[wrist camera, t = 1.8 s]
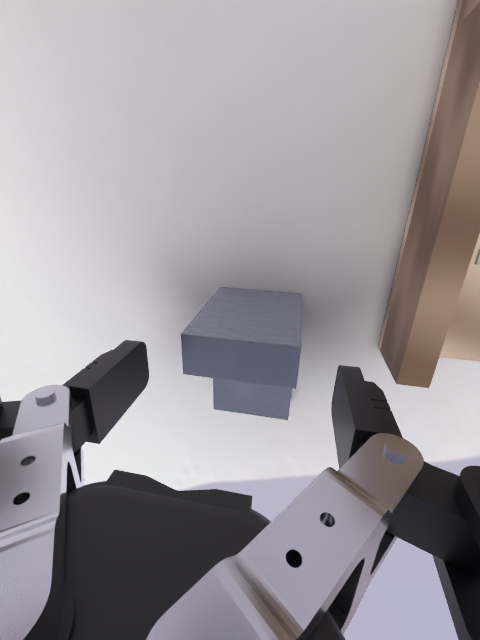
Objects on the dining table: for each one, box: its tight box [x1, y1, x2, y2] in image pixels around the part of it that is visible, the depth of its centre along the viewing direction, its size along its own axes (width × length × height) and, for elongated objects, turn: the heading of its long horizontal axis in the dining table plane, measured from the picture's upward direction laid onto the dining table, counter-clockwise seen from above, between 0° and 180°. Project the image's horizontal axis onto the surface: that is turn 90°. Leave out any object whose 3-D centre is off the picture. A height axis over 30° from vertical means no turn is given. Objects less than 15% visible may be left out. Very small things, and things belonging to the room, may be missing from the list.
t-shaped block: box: [181, 287, 301, 420], centre depth 17 cm, size 8×5×7 cm, turn 178°
